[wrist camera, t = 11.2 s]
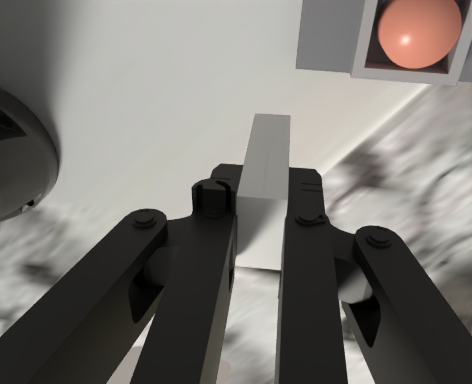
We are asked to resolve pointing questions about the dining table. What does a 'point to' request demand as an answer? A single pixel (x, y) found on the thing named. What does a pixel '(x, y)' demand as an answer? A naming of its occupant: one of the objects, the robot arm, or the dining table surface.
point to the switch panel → (372, 44)
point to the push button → (418, 30)
